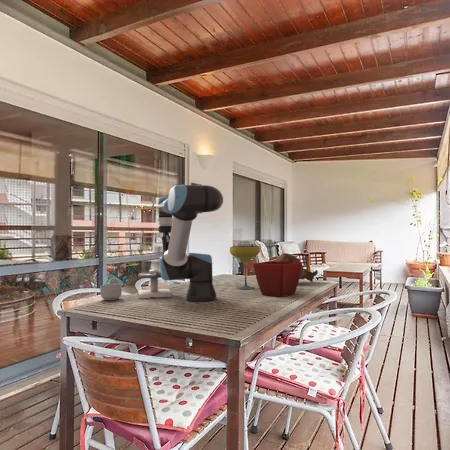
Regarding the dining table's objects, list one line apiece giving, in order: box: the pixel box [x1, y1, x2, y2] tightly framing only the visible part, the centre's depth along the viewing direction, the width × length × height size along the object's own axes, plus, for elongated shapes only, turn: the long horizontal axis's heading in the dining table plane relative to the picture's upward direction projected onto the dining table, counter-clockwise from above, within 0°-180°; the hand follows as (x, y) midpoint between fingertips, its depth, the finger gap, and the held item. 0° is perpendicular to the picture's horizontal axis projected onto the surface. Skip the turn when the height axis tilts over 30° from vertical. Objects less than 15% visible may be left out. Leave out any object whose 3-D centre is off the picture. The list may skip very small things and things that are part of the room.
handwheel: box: [137, 269, 162, 279], centre depth 211 cm, size 17×17×8 cm
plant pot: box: [253, 260, 303, 298], centre depth 201 cm, size 19×19×17 cm
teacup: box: [99, 282, 123, 301], centre depth 200 cm, size 14×11×8 cm
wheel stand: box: [138, 278, 172, 299], centre depth 211 cm, size 17×17×10 cm
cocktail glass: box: [229, 245, 261, 291], centre depth 228 cm, size 18×18×25 cm
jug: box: [273, 252, 319, 283], centre depth 245 cm, size 20×20×30 cm
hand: (166, 268), depth 207 cm, fingers closed
